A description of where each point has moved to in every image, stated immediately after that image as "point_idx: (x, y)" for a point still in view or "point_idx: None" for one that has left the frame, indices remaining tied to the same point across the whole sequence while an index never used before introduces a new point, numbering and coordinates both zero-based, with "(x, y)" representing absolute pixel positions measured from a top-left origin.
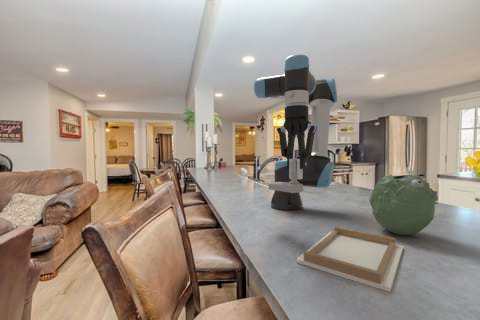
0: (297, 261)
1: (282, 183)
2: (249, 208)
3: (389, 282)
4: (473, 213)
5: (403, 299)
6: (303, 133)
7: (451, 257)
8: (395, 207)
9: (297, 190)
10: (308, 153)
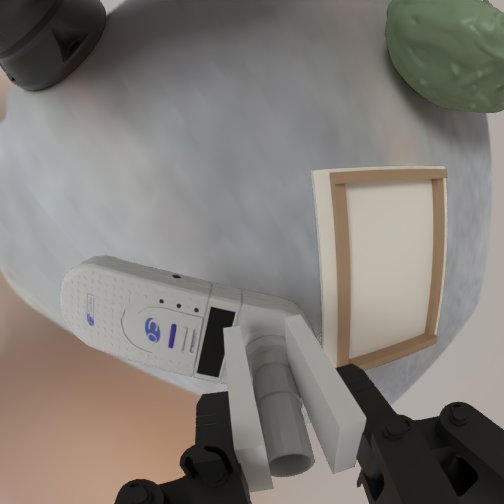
0: None
1: (177, 351)
2: None
3: (436, 325)
4: None
5: (441, 335)
6: None
7: (478, 157)
8: (475, 107)
9: None
10: (456, 461)
